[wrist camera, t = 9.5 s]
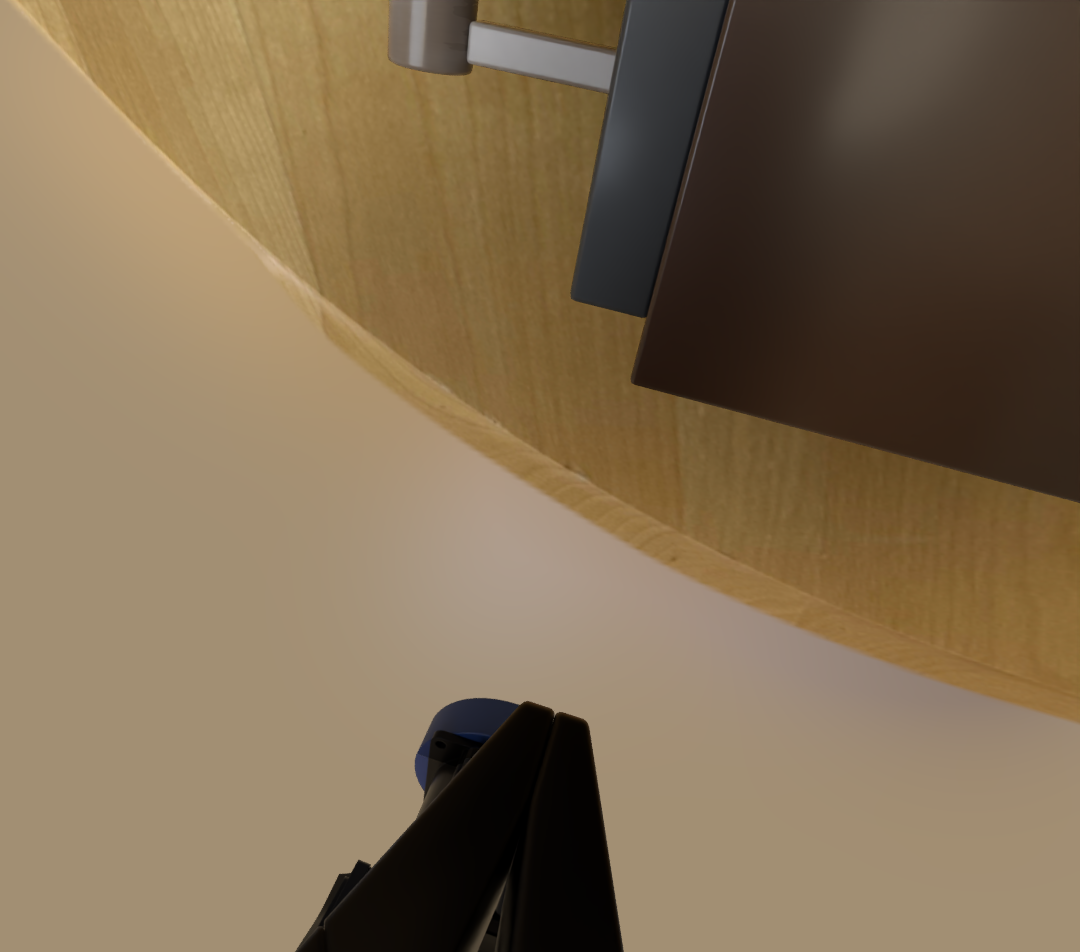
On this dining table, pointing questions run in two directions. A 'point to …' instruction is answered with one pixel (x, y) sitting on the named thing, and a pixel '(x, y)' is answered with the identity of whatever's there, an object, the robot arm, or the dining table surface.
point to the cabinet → (886, 232)
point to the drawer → (628, 126)
